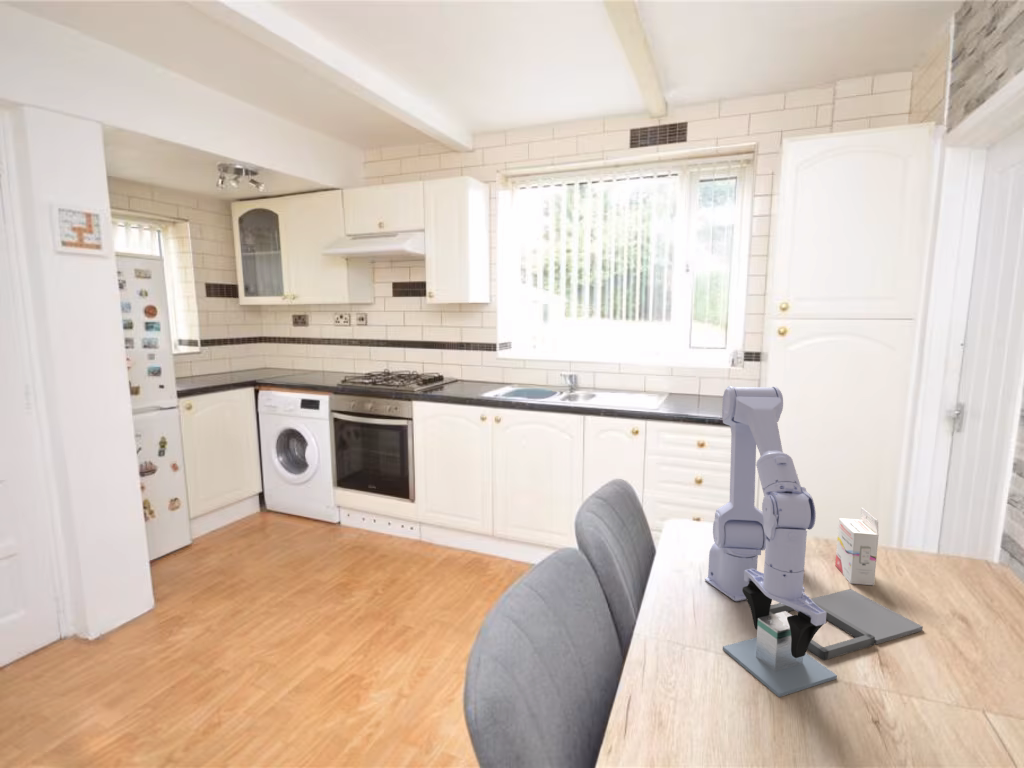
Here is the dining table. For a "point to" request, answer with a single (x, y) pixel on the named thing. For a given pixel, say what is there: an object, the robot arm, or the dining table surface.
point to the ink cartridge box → (857, 548)
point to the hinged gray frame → (856, 622)
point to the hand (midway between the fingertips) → (778, 641)
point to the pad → (783, 679)
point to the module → (775, 642)
